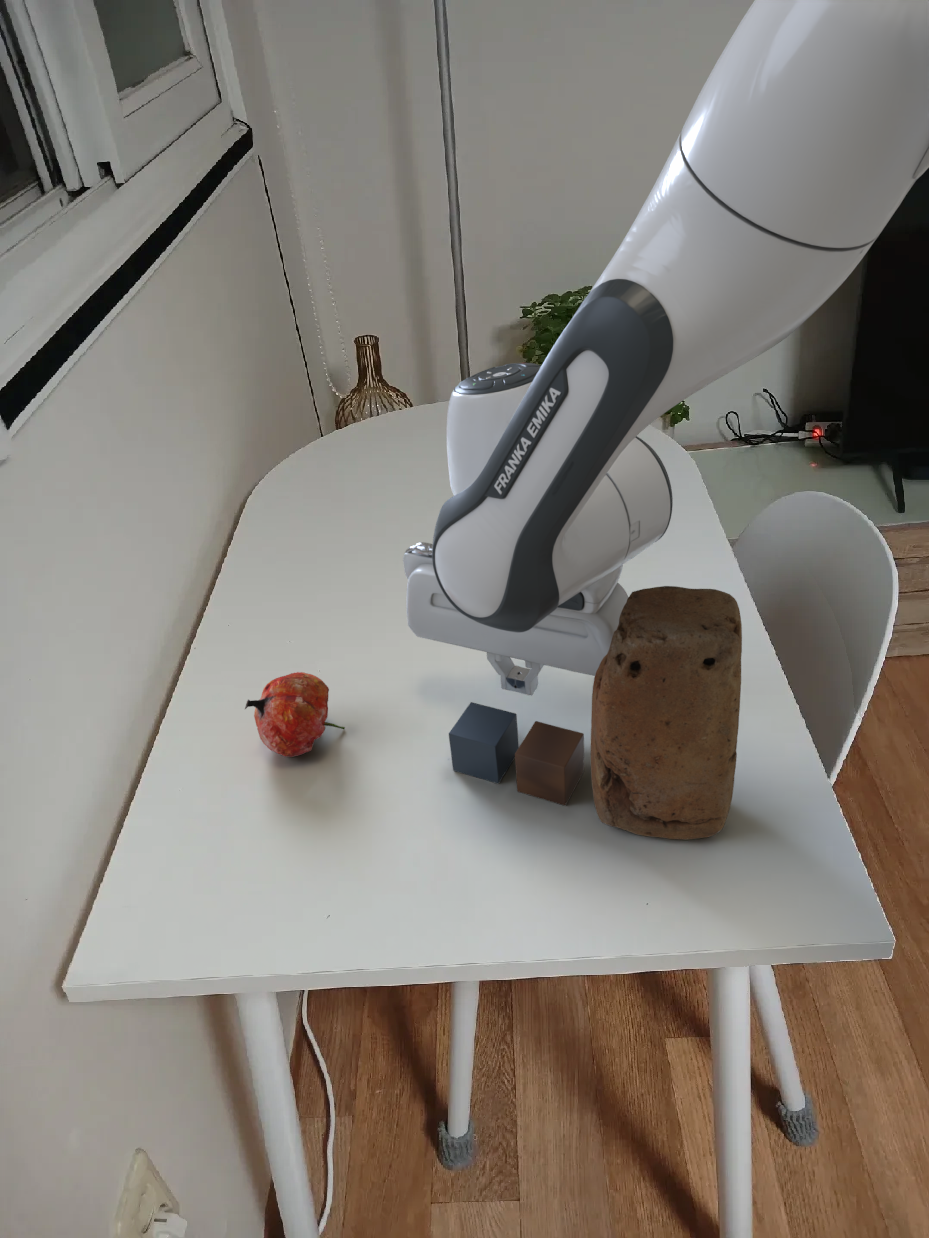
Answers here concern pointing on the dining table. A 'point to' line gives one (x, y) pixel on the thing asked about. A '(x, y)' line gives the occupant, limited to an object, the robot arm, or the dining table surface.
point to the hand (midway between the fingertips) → (519, 688)
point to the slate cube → (484, 742)
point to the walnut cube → (550, 762)
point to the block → (668, 714)
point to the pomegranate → (292, 713)
